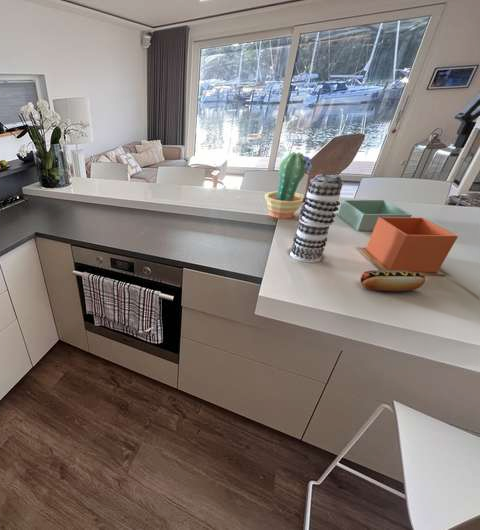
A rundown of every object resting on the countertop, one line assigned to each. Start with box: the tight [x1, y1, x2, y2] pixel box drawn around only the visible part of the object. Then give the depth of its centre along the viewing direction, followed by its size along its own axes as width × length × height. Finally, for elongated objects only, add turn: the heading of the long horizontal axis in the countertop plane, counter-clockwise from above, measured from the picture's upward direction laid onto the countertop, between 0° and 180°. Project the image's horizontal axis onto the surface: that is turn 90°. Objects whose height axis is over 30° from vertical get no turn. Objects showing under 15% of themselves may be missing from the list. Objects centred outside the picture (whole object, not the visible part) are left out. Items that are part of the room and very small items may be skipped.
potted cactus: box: [264, 151, 313, 220], centre depth 115 cm, size 15×15×25 cm
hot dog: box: [359, 269, 426, 292], centre depth 72 cm, size 5×13×5 cm, turn 82°
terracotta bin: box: [365, 217, 459, 273], centre depth 81 cm, size 11×13×11 cm
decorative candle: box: [289, 173, 346, 264], centre depth 85 cm, size 9×9×25 cm
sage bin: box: [337, 199, 413, 232], centre depth 106 cm, size 14×16×7 cm
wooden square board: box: [358, 248, 446, 277], centre depth 84 cm, size 14×14×1 cm
